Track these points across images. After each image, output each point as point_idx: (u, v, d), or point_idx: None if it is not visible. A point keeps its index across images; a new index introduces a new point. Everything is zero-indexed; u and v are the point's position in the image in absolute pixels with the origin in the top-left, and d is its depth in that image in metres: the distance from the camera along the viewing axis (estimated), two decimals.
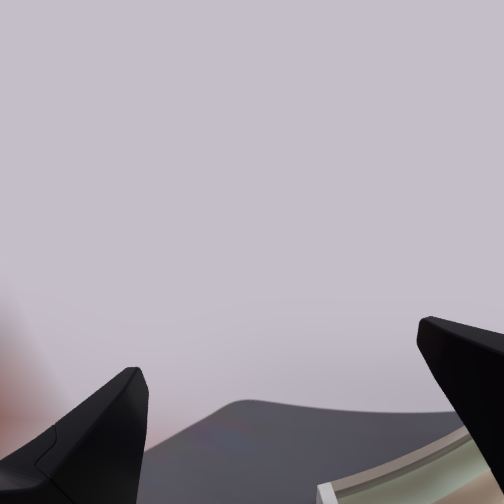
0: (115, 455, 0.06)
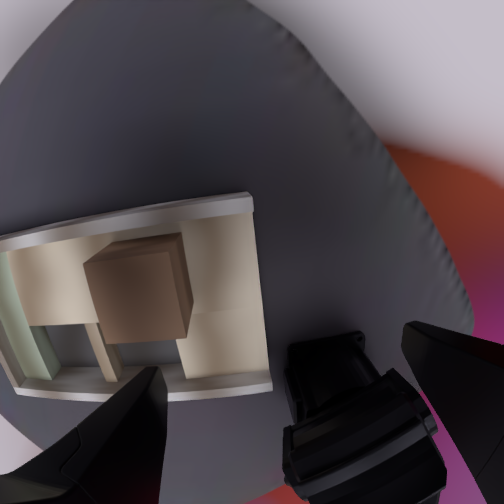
0: (139, 456, 0.06)
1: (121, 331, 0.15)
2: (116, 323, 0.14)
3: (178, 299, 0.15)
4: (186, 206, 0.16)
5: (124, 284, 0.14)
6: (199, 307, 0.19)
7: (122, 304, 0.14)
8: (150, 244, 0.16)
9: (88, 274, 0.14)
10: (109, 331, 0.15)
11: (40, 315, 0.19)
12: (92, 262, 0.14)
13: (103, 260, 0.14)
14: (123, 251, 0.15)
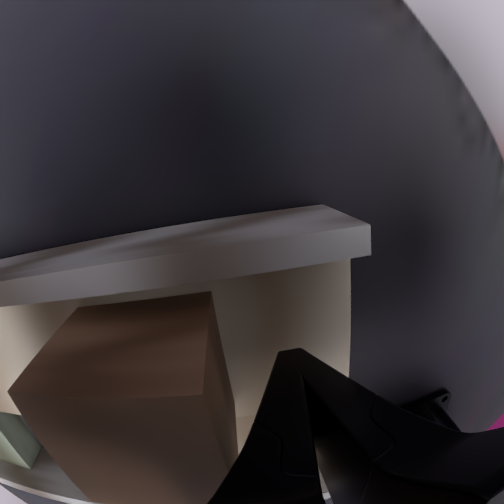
0: None
1: (114, 495, 0.06)
2: (102, 486, 0.05)
3: (227, 464, 0.06)
4: (229, 247, 0.07)
5: (102, 441, 0.05)
6: (244, 408, 0.10)
7: (107, 467, 0.05)
8: (149, 337, 0.07)
9: (23, 412, 0.05)
10: (91, 491, 0.06)
11: None
12: (24, 392, 0.05)
13: (45, 392, 0.05)
14: (90, 358, 0.06)
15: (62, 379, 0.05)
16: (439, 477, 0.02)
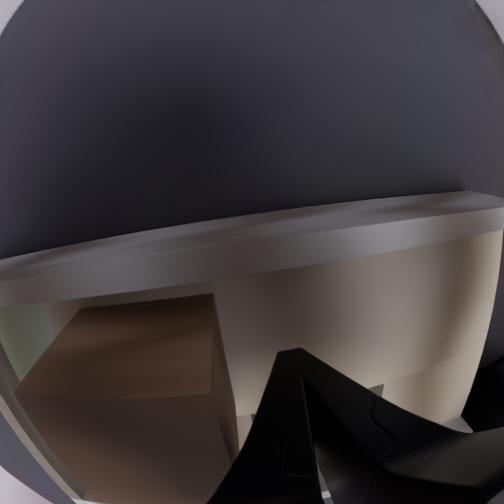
0: None
1: (119, 494, 0.06)
2: (106, 485, 0.06)
3: (232, 462, 0.06)
4: (477, 212, 0.08)
5: (109, 440, 0.05)
6: (425, 362, 0.11)
7: (112, 467, 0.05)
8: (155, 338, 0.07)
9: (29, 412, 0.05)
10: (95, 490, 0.06)
11: None
12: (31, 393, 0.05)
13: (52, 393, 0.05)
14: (96, 359, 0.06)
15: (69, 380, 0.05)
16: (439, 476, 0.02)
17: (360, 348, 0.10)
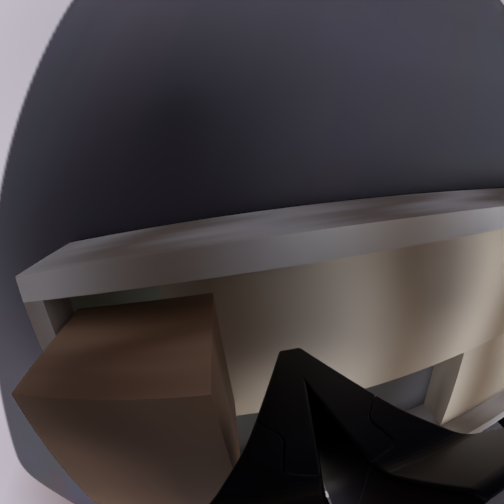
0: None
1: (118, 496, 0.06)
2: (106, 487, 0.06)
3: (232, 463, 0.06)
4: None
5: (108, 442, 0.05)
6: (492, 332, 0.11)
7: (112, 468, 0.05)
8: (154, 339, 0.07)
9: (28, 414, 0.05)
10: (95, 492, 0.06)
11: (238, 400, 0.10)
12: (29, 395, 0.05)
13: (51, 394, 0.05)
14: (95, 360, 0.06)
15: (68, 381, 0.05)
16: (436, 478, 0.02)
17: (454, 319, 0.11)
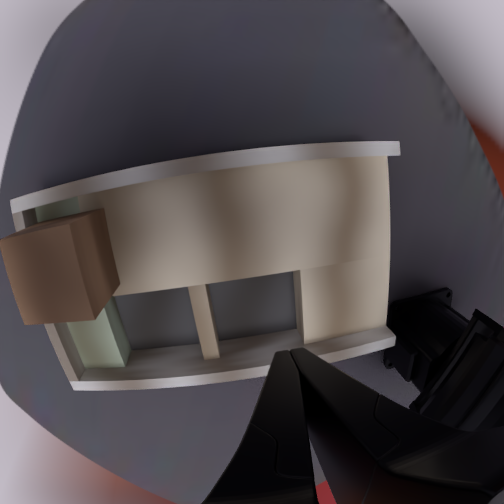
0: None
1: (36, 311, 0.12)
2: (30, 303, 0.12)
3: (83, 276, 0.12)
4: (342, 143, 0.15)
5: (33, 260, 0.12)
6: (332, 257, 0.18)
7: (33, 282, 0.12)
8: (65, 219, 0.13)
9: (3, 251, 0.11)
10: (25, 311, 0.12)
11: (122, 281, 0.17)
12: (6, 238, 0.11)
13: (15, 236, 0.11)
14: (38, 227, 0.12)
15: (23, 232, 0.12)
16: (444, 474, 0.02)
17: (276, 236, 0.17)
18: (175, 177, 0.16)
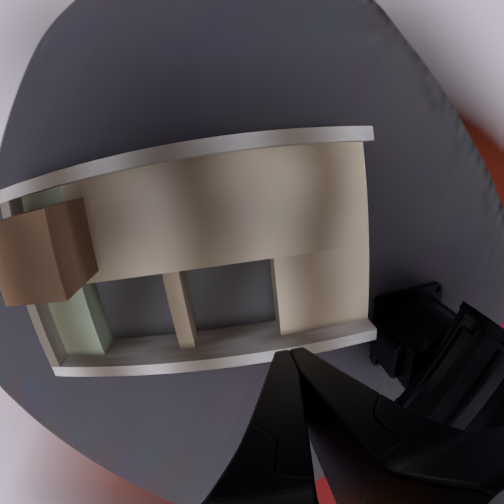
0: None
1: (15, 293, 0.12)
2: (11, 285, 0.12)
3: (56, 258, 0.12)
4: (311, 128, 0.15)
5: (13, 243, 0.12)
6: (307, 246, 0.18)
7: (13, 265, 0.12)
8: (44, 207, 0.14)
9: None
10: (6, 293, 0.12)
11: (100, 268, 0.17)
12: None
13: None
14: (20, 214, 0.13)
15: (6, 218, 0.12)
16: (444, 474, 0.02)
17: (247, 224, 0.17)
18: (149, 166, 0.16)
